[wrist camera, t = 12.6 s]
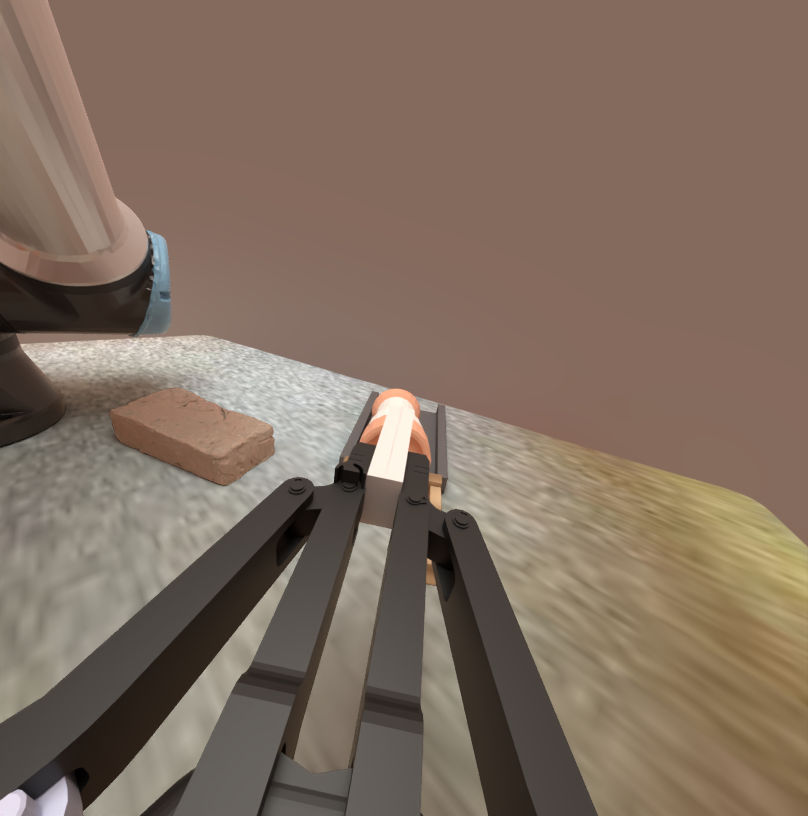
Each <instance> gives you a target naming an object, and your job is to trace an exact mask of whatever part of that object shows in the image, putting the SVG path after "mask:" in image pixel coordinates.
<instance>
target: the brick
mask: <svg viewBox="0 0 808 816" xmlns="http://www.w3.org/2000/svg"><path fill="white" fill-rule="evenodd" d="M109 415H110V417H111V419H112V426H113V428H114V431H115V434H116V437H117V438H118V440H119V441H121V442H122V443H124V444H126V445H128V446H130V447H131V448H136V449H139V450H140V452H142V453H147V454H148V455H150V456H153V457H155V458H158V459H159V460H161V461H165V462H167V463H169V464H172V465H175V466H178V467H179V468H182V469H184V470H186V471H189V472H193V473H194V474H195V475H197V476H200V477H202V478H205V479H207V480H210V481H213V482H215V483H218V484H221V485H228V484H231V483H232V482H234V481H235V480H238V479H240V478H241V477H242V476H243V475H244V474H245V473H246V472H247V471H249V470H250V469H252V468H253V467H255V466H256V465H259V464H260V463H262V462H264V461H266V460H267V459H268V458H269V457H271V456H272V455H273V454H274V452H275V450H274V447H273V446H274V440H275V439H274V438H273V437H272V435H273V428H272V426H271V425H269V424H267V423H265V422H262V421H260V420H257V419H256V418H254V417H250V416H246V415H244V414H241V413H237V412H233V411H228V410H226V409H224V408H221V407H219V406H218V405H217V404H215V403H212V402H207V401H206V400H205V399H203V398H200V397H199V396H197V395H195V394H194V393H191V392H189V391H186V390H184V389H182V388H169V389H165V390H160V391H158V392H155V393H152V394H150V395H148V396H145V397H141V398H139V399H137V400H135V401H132V402H130V403H127V404H126V405H124V406H121V407H118V408H115V409H110V414H109Z"/></svg>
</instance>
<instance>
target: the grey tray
mask: <svg viewBox="0 0 808 816" xmlns="http://www.w3.org/2000/svg"><path fill="white" fill-rule="evenodd" d="M378 395H379V393H378V392H373V391H372V393H371V395H370V397H369V399H368V401H367V403H366V405H365V407H364V409H363V411H362V413H361V415H360V417H359V419H358V421H357V423H356V425H355V427H354V429H353V431H352V433H351V435H350V437H349V439H348V441H347V443H346V445H345V447H344V449H343V451H342V453H341V455H340V460H339V464H340V463H342V462H343V461H344V458H345V456H350V454H351V451H352V449H353V447H354V446H355V445H356V444H358V443H359V442H360V439H361V436H362V434H363V432H364V430H365V429H366V427H367V426H368V425H369V423H370V421H371V419H372V418H373V416H372V408H373V404H374V402H375V400H376V398H377V397H378ZM419 421H420V423H421V426H422V428H423V430H424V432H425V434H426V436H427V438H428V443H429V447H430V454H431V464H430V468H429V473H433V474H438V475H442V485H441V494H443V493H444V489H445V486H446V482H447V479H448V475H447V446H446V417H445V406H444V405H439V404H438V408H437V412H436V413H432V412H427V411H422V410H420V417H419Z"/></svg>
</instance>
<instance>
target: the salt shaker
mask: <svg viewBox="0 0 808 816" xmlns="http://www.w3.org/2000/svg"><path fill="white" fill-rule="evenodd" d="M390 405H393V406H398V407H403V408H408V409H413V410H415V411H414V417H413V424H412V430H411V436H410V442H409V448H408V451H409V452H414V453H419V454H424V455H426V456H427V458H428V459H429V461H430V464H431V454H430V447H429V443H428V438H427V436H426V434H425V432H424V430H423V428H422V426H421V423H420V421H419V417H420V406H419V404H418V402H417V399H416V398H415V397H414V396H413V395H412V394H411V393H409V392H407V391H405V390H401V389H390V390H387V391H385V392H383V393H381V394H380V395H379V396H378V397H377V398H376V400H375V402H374V404H373V408H372V416H373V418H372V419H371V421H370V423H369V425H368V426H367V427H366V429H365V430H364V432H363V434H362V436H361V439H360V442H362V443H367V444H372V445H377V443H378V440H379V437H380V434H381V431H382V428H383V425H384V422H385V419H386V416H387V413H388V410H389V406H390ZM429 468H430V467H429Z"/></svg>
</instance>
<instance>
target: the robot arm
mask: <svg viewBox="0 0 808 816" xmlns="http://www.w3.org/2000/svg"><path fill="white" fill-rule="evenodd" d="M170 293H171V292H170V270H169V258H168V249H167V244H166V241H165V239H164V238H163V237H162V236H160V235H158V234H155V233H152V232H151V231H147V230H145V229H144V227H143V225H142V223H141V221H140V220H139V218H138V217H137V216H136V214H135V213H134V212H133V211H132V210H131V209H129V208H128V207H127V206H126V205H125V204H124V203H122V202H121V201H120V200H118V199H117V198H115V196H114V193H113V190H112V187H111V184H110V181H109V178H108V176H107V173H106V169H105V167H104V164H103V161H102V158H101V155H100V152H99V149H98V146H97V143H96V140H95V138H94V134H93V131H92V129H91V126H90V123H89V120H88V117H87V114H86V111H85V108H84V105H83V103H82V100H81V97H80V94H79V91H78V88H77V85H76V82H75V79H74V76H73V73H72V70H71V67H70V65H69V62H68V59H67V56H66V53H65V50H64V47H63V44H62V41H61V39H60V36H59V33H58V30H57V27H56V24H55V21H54V18H53V15H52V12H51V9H50V6H49V4H48V0H0V446H3V445H6V444H9V443H12V442H15V441H18V440H21V439H24V438H26V437H29V436H31V435H33V434H36V433H38V432H40V431H42V430H44V429H46V428H47V427H49V426H51V425H52V424H54V423H55V422H56V421H58V420H59V419H60V418H61V417H62V415H63V414H64V412H65V404H64V402H63V399H62V396H61V393H60V391H59V390H58V388H57V387H56V386H55V385H54V384H53V383H52V382H51V381H50V380H49V378H48V377H47V376H46V375H45V374H44V373H43V372H42V371H41V370H40V369H39V368H38V367H37V366H36V364H35V363H34V362H33V361H32V360H31V359H30V358H29V357H28V356H27V355H26V354H25V353H24V351H23V350H22V348H21V346H20V343H19V341H18V338H17V336H16V333H23V334H26V333H28V334H99V335H100V334H101V335H129V336H132V337H137V336H139V335H157V334H162V333H165V332H166V331H167V330H168V329H169V328H170V325H171V296H170ZM414 411H415V410H413V409H408V408H403V407H398V406H393V405H390V406H389V410H388V413H387V416H386V419H385V422H384V425H383V428H382V431H381V434H380V437H379V440H378V443H377V445H372V444H367V443H362V442H359V443H358V444H356V445H355V446H354V447H353V449H352V451H351V454H350V456H349V458H348V460H347V461H345V462H342V463H340V464H338V465H337V466H336V467H335V476H334V483H333V484H331V485H327V486H314V485H313V483H312V482H311V481H310V480H308V479H306V478H302V477H296V478H291V479H288V480H287V481H285V482H284V483H282V484H281V485H280V486H279V487H278V488H277V489H276V490H275V491H273V492H272V493H271V494H270V495H269V496H268V497H267V498H266V499H264V500H263V501H262V502H261V503H260V504H259V505H258V506H257V507H255V508H254V509H253V510H252V511H251V512H250V513H249V514H248V515H246V516H245V517H244V518H243V519H242V520H241V521H240V522H239V523H238V524H236V525H235V526H234V527H233V528H232V529H231V530H230V531H229V532H227V533H226V534H225V535H224V536H223V537H222V538H221V539H220V540H218V541H217V542H216V543H215V544H214V545H213V546H212V547H211V548H209V549H208V550H207V551H206V552H205V553H204V554H203V555H202V556H201V557H199V558H198V559H197V560H196V561H195V562H194V563H193V564H192V565H190V566H189V567H188V568H187V569H186V570H185V571H184V572H183V573H181V574H180V575H179V576H178V577H177V578H176V579H175V580H174V581H172V582H171V583H170V584H169V585H168V586H167V587H166V588H165V589H163V590H162V591H161V592H160V593H159V594H158V595H157V596H156V597H155V598H153V599H152V600H151V601H150V602H149V603H148V604H147V605H146V606H144V607H143V608H142V609H141V610H140V611H139V612H138V613H137V614H135V615H134V616H133V617H132V618H131V619H130V620H129V621H128V622H126V623H125V624H124V625H123V626H122V627H121V628H120V629H119V630H117V631H116V632H115V633H114V634H113V635H112V636H111V637H110V638H109V639H107V640H106V641H105V642H104V643H103V644H102V645H101V646H100V647H98V648H97V649H96V650H95V651H94V652H93V653H92V654H91V655H89V656H88V657H87V658H86V659H85V660H84V661H83V662H82V663H80V664H79V665H78V666H77V667H76V668H75V669H74V670H73V671H72V672H70V673H69V674H68V675H67V676H66V677H65V678H64V679H63V680H61V681H60V682H59V683H58V684H57V685H56V686H55V687H54V688H52V689H51V690H50V691H49V692H48V693H47V694H46V695H45V696H43V697H42V698H40V699H39V700H37V701H36V702H34V703H32V704H31V705H29V706H28V707H26V708H24V709H23V710H21V711H20V712H18V713H17V714H15V715H13V716H12V717H10V718H9V719H7V720H6V721H4V722H2V723H1V724H0V816H83V811H84V810H85V809H86V808H87V807H88V806H89V805H90V804H91V803H93V802H94V800H95V799H96V798H97V797H98V796H99V795H100V794H101V793H102V792H103V791H104V790H105V789H106V788H107V787H108V786H109V785H110V784H111V783H112V782H113V781H114V780H115V779H116V778H117V777H118V776H119V774H120V773H121V772H122V771H123V770H124V769H125V768H126V766H127V765H128V764H129V763H130V762H131V761H132V759H133V758H134V757H135V756H136V755H137V753H138V752H139V751H140V750H141V749H142V748H143V746H144V745H145V744H146V743H147V741H148V740H149V739H150V738H151V736H152V735H153V734H154V733H155V731H156V730H157V729H158V728H159V726H160V725H161V724H162V723H163V721H164V720H165V719H166V718H167V716H168V715H169V714H170V713H171V711H172V710H173V709H174V708H175V706H176V705H177V704H178V703H179V701H180V700H181V699H182V697H183V696H184V695H185V694H186V692H187V691H188V690H189V689H190V687H191V686H192V685H193V684H194V682H195V681H196V680H197V679H198V677H199V676H200V675H201V674H202V672H203V671H204V670H205V669H206V667H207V666H208V665H209V664H210V662H211V661H212V660H213V659H214V657H215V656H216V655H217V654H218V652H219V651H220V650H221V648H222V647H223V646H224V645H225V643H226V642H227V641H228V640H229V638H230V637H231V636H232V635H233V633H234V632H235V631H236V630H237V628H238V627H239V626H240V625H241V623H242V622H243V621H244V620H245V618H246V617H247V616H248V615H249V613H250V612H251V611H252V610H253V608H254V607H255V606H256V605H257V603H258V602H259V601H260V600H261V598H262V597H263V596H264V594H265V593H266V592H267V591H268V589H269V588H270V587H271V586H272V584H273V583H274V582H275V581H276V579H277V578H278V577H279V576H280V574H281V573H282V572H283V571H284V569H285V568H286V567H287V566H288V564H289V563H290V562H291V561H292V559H293V558H294V557H295V556H296V554H297V553H298V552H299V551H300V549H301V548H302V547H303V546H304V544H305V543H306V542H307V543H306V545H305V547H304V550H303V552H302V554H301V556H300V558H299V561H298V563H297V565H296V567H295V569H294V572H293V574H292V576H291V578H290V580H289V583H288V585H287V587H286V589H285V591H284V594H283V596H282V598H281V600H280V602H279V605H278V607H277V609H276V611H275V613H274V616H273V618H272V620H271V622H270V624H269V626H268V629H267V631H266V633H265V635H264V637H263V640H262V642H261V644H260V646H259V648H258V651H257V653H256V655H255V657H254V659H253V662H252V664H251V666H250V667H249V669H248V670H247V671H246V672H245V673H244V674H242V675H241V677H240V678H239V680H238V681H237V682H236V684H235V686H234V688H233V690H232V692H231V694H230V696H229V698H228V700H227V703H226V705H225V707H224V709H223V711H222V713H221V715H220V717H219V720H218V722H217V724H216V726H215V728H214V730H213V732H212V734H211V736H210V739H209V741H208V743H207V745H206V747H205V749H204V751H203V753H202V756H201V758H200V760H199V762H198V764H197V766H196V768H195V769H193V770H191V771H190V772H189V773H187V774H186V775H185V776H184V777H182V778H181V779H180V780H178V781H177V782H176V783H175V784H174V785H173V786H172V787H170V788H169V789H168V790H167V791H166V792H165V793H164V794H163V795H162V796H161V797H160V798H159V799H157V800H156V801H155V802H154V803H153V804H152V805H151V806H150V807H149V808H148V809H147V810H146V811H145V812H143V813H142V814H141V815H140V816H423V815H422V813H421V812H420V808H421V782H422V755H423V714H422V711H421V706H420V697H421V676H422V655H423V634H424V613H425V592H426V571H427V558H428V559H429V560H431V562H432V568H433V573H434V577H435V581H436V586H437V590H438V595H439V599H440V604H441V608H442V612H443V617H444V621H445V626H446V630H447V635H448V639H449V643H450V648H451V652H452V657H453V661H454V665H455V670H456V674H457V679H458V683H459V688H460V692H461V696H462V701H463V705H464V710H465V714H466V719H467V723H468V727H469V732H470V736H471V741H472V745H473V750H474V754H475V758H476V763H477V767H478V772H479V776H480V780H481V785H482V789H483V794H484V798H485V803H486V807H487V811H488V816H598V815H597V812H596V810H595V807H594V805H593V803H592V800H591V798H590V795H589V793H588V790H587V788H586V786H585V783H584V781H583V778H582V776H581V774H580V771H579V769H578V766H577V764H576V761H575V759H574V757H573V754H572V752H571V749H570V747H569V745H568V742H567V740H566V737H565V735H564V733H563V730H562V728H561V725H560V723H559V720H558V718H557V716H556V713H555V711H554V708H553V706H552V704H551V701H550V699H549V696H548V694H547V691H546V689H545V687H544V684H543V682H542V679H541V677H540V675H539V672H538V670H537V667H536V665H535V663H534V660H533V658H532V655H531V653H530V650H529V648H528V646H527V643H526V641H525V638H524V636H523V634H522V631H521V629H520V626H519V624H518V621H517V619H516V617H515V614H514V612H513V609H512V607H511V605H510V602H509V600H508V597H507V595H506V593H505V590H504V588H503V585H502V583H501V580H500V578H499V576H498V573H497V571H496V568H495V566H494V564H493V561H492V559H491V556H490V554H489V551H488V549H487V547H486V544H485V542H484V539H483V537H482V535H481V532H480V530H479V527H478V525H477V523H476V521H475V519H474V518H473V517H472V516H471V515H470V514H469V513H467V512H465V511H463V510H458V509H454V510H450V511H449V512H447V513H445V512H443V511H441V510H439V509H437V508H436V507H435V506H434V505H432V503H431V502H430V500H429V498H428V486H429V467H430V461H429V459H428V458H427V456H426V455H424V454H419V453H414V452H409V451H408V448H409V442H410V436H411V430H412V424H413V417H414ZM359 522H362V523H367V524H371V525H376V526H381V527H386V528H390V529H392V532H391V536H390V541H389V545H388V550H387V551H388V552H387V558H386V563H385V569H384V575H383V580H382V586H381V591H380V597H379V602H378V608H377V614H376V619H375V625H374V630H373V636H372V641H371V647H370V652H369V658H368V664H367V669H366V675H365V680H364V686H363V691H362V697H361V703H360V708H359V714H358V719H357V725H356V730H355V736H354V741H353V746H352V751H351V756H350V761H349V766H348V769H344V770H338V771H332V772H326V773H320V774H313V773H311V772H309V771H308V770H306V769H305V768H303V767H302V766H300V765H299V764H298V763H296V762H295V761H293V758H294V754H295V750H296V746H297V742H298V737H299V733H300V729H301V725H302V721H303V718H304V714H305V711H306V707H307V704H308V700H309V697H310V694H311V690H312V687H313V683H314V680H315V676H316V673H317V670H318V666H319V663H320V659H321V656H322V652H323V649H324V645H325V642H326V639H327V635H328V632H329V628H330V625H331V621H332V618H333V615H334V611H335V608H336V604H337V601H338V597H339V594H340V591H341V587H342V584H343V580H344V577H345V573H346V570H347V567H348V563H349V560H350V556H351V553H352V549H353V546H354V543H355V539H356V536H357V532H358V526H359ZM307 540H308V541H307Z"/></svg>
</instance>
